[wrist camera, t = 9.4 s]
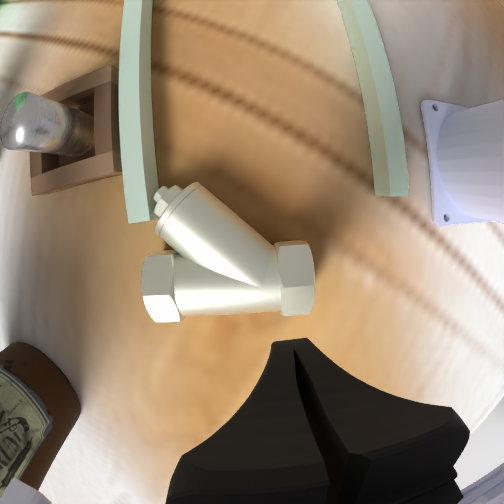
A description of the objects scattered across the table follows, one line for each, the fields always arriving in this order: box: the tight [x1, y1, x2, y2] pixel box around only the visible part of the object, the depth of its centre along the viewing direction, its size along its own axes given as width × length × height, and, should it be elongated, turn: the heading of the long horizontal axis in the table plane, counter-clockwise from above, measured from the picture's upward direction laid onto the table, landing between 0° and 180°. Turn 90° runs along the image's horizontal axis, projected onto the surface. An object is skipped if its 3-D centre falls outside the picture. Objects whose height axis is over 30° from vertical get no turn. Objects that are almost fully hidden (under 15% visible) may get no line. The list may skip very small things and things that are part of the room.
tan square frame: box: [30, 65, 123, 195], centre depth 13 cm, size 6×6×2 cm
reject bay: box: [119, 0, 409, 224], centre depth 12 cm, size 14×24×2 cm, turn 6°
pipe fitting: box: [141, 182, 315, 322], centre depth 14 cm, size 8×4×7 cm
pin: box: [0, 92, 95, 157], centre depth 11 cm, size 3×3×6 cm
